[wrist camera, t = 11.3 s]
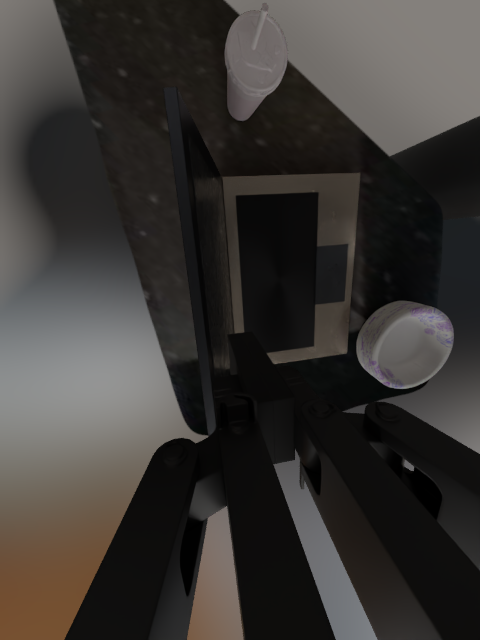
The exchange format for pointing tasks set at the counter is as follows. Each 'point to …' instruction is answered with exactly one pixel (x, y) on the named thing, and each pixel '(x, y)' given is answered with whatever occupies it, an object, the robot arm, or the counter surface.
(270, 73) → the smoothie
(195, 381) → the counter surface
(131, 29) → the counter surface
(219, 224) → the laptop screen
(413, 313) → the paper bowls
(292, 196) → the laptop
